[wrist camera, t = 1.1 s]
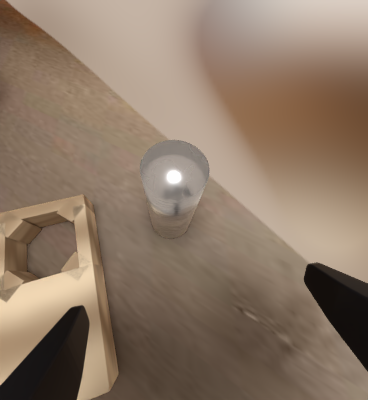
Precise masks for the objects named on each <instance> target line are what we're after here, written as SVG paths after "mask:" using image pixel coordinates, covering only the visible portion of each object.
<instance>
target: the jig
mask: <svg viewBox="0 0 368 400" xmlns="http://www.w3.org/2000/svg"><path fill="white" fill-rule="evenodd" d="M65 221H69V222H71V223H73V224H75V232H76V241H77V250H78V252H74V254H73V255H72V256H71V258H70V259H69V260H68V262H67V263H66V264H65V266H64V267H63V268H62V270H61V271H63V272H62V273H59V274H55V275H52V276H49V277H45V278H42V279H40V278H38V277H36V276H35V275H33V274H32V273H30V272H27V244H29V243H30V242H31V241H32V240H33V239H34V238H35V237H36V235H37V234H38V233H39V232H40V231H41V230H42V229H41V227H45V226H49V225H53V224H57V223H61V222H65ZM79 305H83V306H84V307H85V309H86V312H87V315H88V318H89V322H90V327H89V334H88V341H87V348H86V355H85V362H84V369H83V375H82V380H81V384H80V389H79V393H78V397H77V400H90V399H92V398H95V397H97V396H100V395H102V394H104V393H107V392H109V391H110V390H111V388H112V386H113V384H114V382H115V380H116V378H117V376H118V374H119V372H118V365H117V358H116V352H115V345H114V339H113V332H112V325H111V319H110V312H109V306H108V299H107V292H106V286H105V279H104V273H103V266H102V259H101V253H100V246H99V239H98V233H97V226H96V220H95V213H94V206H93V204H92V203H91V202H90V201H89V200H88V199H87V198H86V197H85V196H84V195H78V196H74V197H70V198H65V199H61V200H56V201H52V202H47V203H43V204H38V205H34V206H29V207H25V208H21V209H16V210H12V211H7V212H3V213H0V385H1V384H2V383H3V382H4V381H5V380H6V378H7V377H8V376H9V375H10V374H11V373H12V372H13V371H14V370H15V368H16V367H17V366H18V365H19V364H20V363H21V362H22V361H23V360H24V358H25V357H26V356H27V355H28V354H29V353H30V352H31V351H32V350H33V348H34V347H35V346H36V345H37V344H38V343H39V342H40V341H41V340H42V338H43V337H44V336H45V335H46V334H47V333H48V332H49V331H50V330H51V328H52V327H53V326H54V325H55V324H56V323H57V322H58V321H59V320H60V318H61V317H62V316H63V315H64V314H65V313H66V312H67V311H68V310H69V309H70V308H71V307H74V306H79Z"/></svg>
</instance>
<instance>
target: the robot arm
mask: <svg viewBox="0 0 368 400" xmlns="http://www.w3.org/2000/svg"><path fill="white" fill-rule="evenodd" d="M304 282H305V285H306V286H307V288H308V289H309V291H310V292H311V294H312V296H313V297H314V299H315V300H316V302H317V303H318V305H319V306H320V308H321V309H322V311H323V313H324V314H325V316H326V317H327V319H328V320H329V321H330V323H331V324H332V325H333V327H334V328H335V329H336V331H337V332H338V333H339V335H340V336H341V337H342V339H343V340H344V341H345V343H346V344H347V345H348V346H349V348H350V349H351V350H352V352H353V353H354V354H355V356H356V357H357V358H358V359H359V361H360V362H361V363H362V365H363V366H364V367H365V369H366V370H367V371H368V283H365V282H363V281H361V280H358V279H356V278H354V277H351V276H349V275H346V274H344V273H342V272H339V271H337V270H335V269H332V268H330V267H328V266H325V265H323V264H320V263H311V264H308V265H307V267H306V271H305V276H304ZM89 327H90V322H89V318H88V315H87V312H86V309H85V307H84V306H83V305H79V306H74V307H71V308H70V309H69V310H68V311H67V312H66V313H65V314H64V315H63V316H62V317H61V318H60V320H59V321H58V322H57V323H56V324H55V325H54V326H53V327H52V328H51V330H50V331H49V332H48V333H47V334H46V335H45V336H44V337H43V338H42V340H41V341H40V342H39V343H38V344H37V345H36V346H35V347H34V348H33V350H32V351H31V352H30V353H29V354H28V355H27V356H26V357H25V358H24V360H23V361H22V362H21V363H20V364H19V365H18V366H17V367H16V368H15V370H14V371H13V372H12V373H11V374H10V375H9V376H8V377H7V378H6V380H5V381H4V382H3V383H2V384H1V385H0V400H77V397H78V393H79V389H80V384H81V380H82V375H83V369H84V362H85V355H86V348H87V341H88V334H89Z"/></svg>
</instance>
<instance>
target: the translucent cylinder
mask: <svg viewBox="0 0 368 400" xmlns="http://www.w3.org/2000/svg"><path fill="white" fill-rule="evenodd" d="M140 174H141V178H142V183H143V187H144V192H145V196H146V201H147V205H148V209H149V214H150V218H151V223H152V226H153V229H154V230H155V232H156V233H157V234H158V235H160V236H161V237H164V238H167V239H174V238H178V237H180V236H182V235H183V234H184V233H185V232H186V231H187V229H188V227H189V225H190V222H191V220H192V218H193V215H194V213H195V210H196V208H197V205H198V203H199V200H200V198H201V196H202V193H203V191H204V188H205V186H206V183H207V181H208V178H209V164H208V161H207V159H206V157H205V156H204V154H203V153H202V152H201V151H200V150H199V149H198V148H197V147H195V146H193V145H192V144H190V143H187V142H184V141H179V140H168V141H163V142H160V143H157V144H155V145H154V146H152V147H151V148H150V149H149V150H148V151H147V152H146V153H145V154H144V156H143V158H142V160H141V164H140Z"/></svg>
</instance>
